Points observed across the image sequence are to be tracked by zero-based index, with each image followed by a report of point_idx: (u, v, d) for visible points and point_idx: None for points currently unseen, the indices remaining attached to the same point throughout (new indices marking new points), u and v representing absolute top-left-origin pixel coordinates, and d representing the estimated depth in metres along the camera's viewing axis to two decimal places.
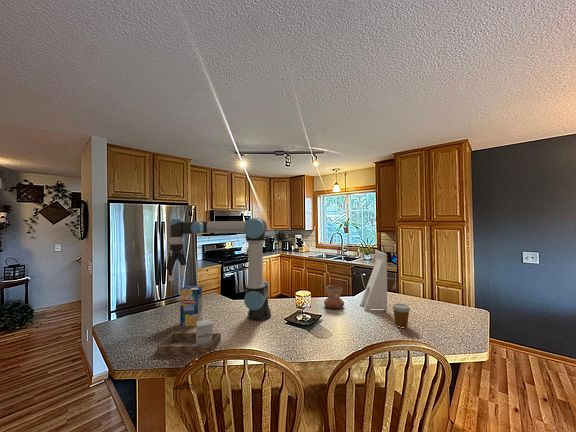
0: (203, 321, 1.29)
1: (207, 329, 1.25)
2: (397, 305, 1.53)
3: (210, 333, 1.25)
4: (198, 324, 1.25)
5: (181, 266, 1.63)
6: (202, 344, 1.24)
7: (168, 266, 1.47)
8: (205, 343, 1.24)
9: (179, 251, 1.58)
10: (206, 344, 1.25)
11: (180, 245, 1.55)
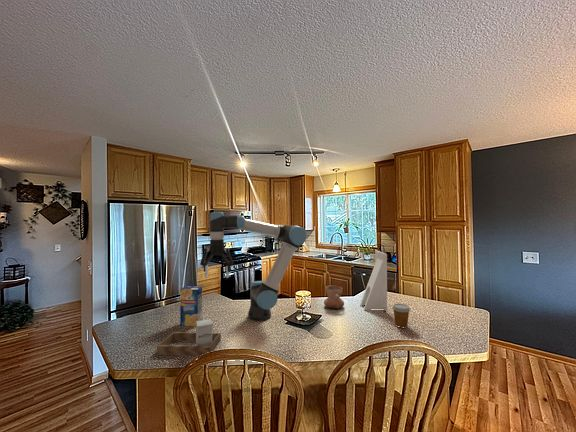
0: (203, 321, 1.29)
1: (207, 329, 1.25)
2: (397, 305, 1.53)
3: (210, 333, 1.25)
4: (198, 324, 1.25)
5: None
6: (202, 344, 1.24)
7: None
8: (205, 343, 1.24)
9: (218, 248, 1.44)
10: (206, 344, 1.25)
11: (212, 241, 1.42)
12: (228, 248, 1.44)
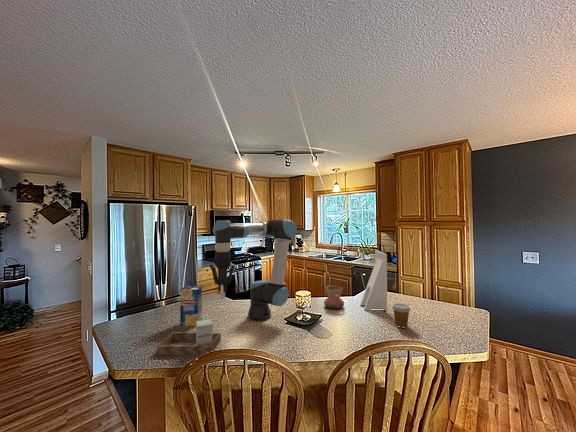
0: (203, 321, 1.29)
1: (207, 329, 1.25)
2: (397, 305, 1.53)
3: (210, 333, 1.25)
4: (198, 324, 1.25)
5: None
6: (202, 344, 1.24)
7: None
8: (205, 343, 1.24)
9: (224, 261, 1.27)
10: (206, 344, 1.25)
11: (217, 253, 1.25)
12: (235, 266, 1.27)
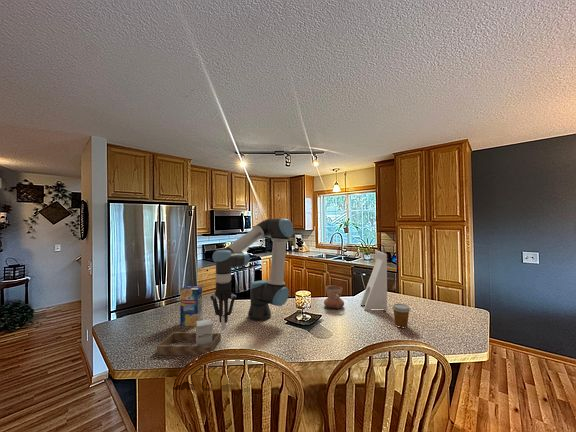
0: (203, 321, 1.29)
1: (207, 329, 1.25)
2: (397, 305, 1.53)
3: (210, 333, 1.25)
4: (198, 324, 1.25)
5: None
6: (202, 344, 1.24)
7: None
8: (205, 343, 1.24)
9: (225, 292, 1.26)
10: (206, 344, 1.24)
11: (218, 285, 1.24)
12: (235, 296, 1.27)
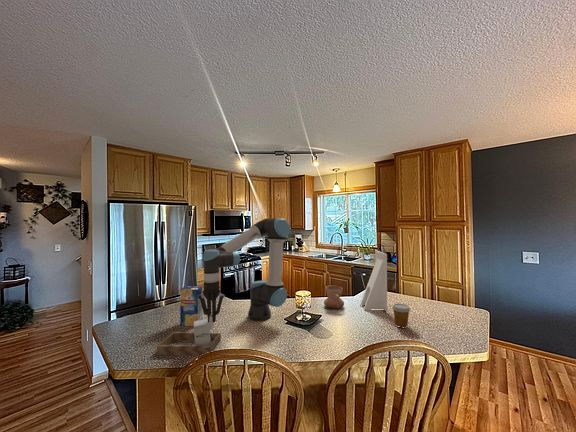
0: (200, 321, 1.28)
1: (204, 328, 1.24)
2: (397, 305, 1.53)
3: (208, 332, 1.25)
4: (195, 324, 1.25)
5: None
6: (200, 344, 1.23)
7: None
8: (203, 342, 1.24)
9: (213, 291, 1.26)
10: (204, 343, 1.24)
11: (205, 284, 1.24)
12: (223, 296, 1.27)
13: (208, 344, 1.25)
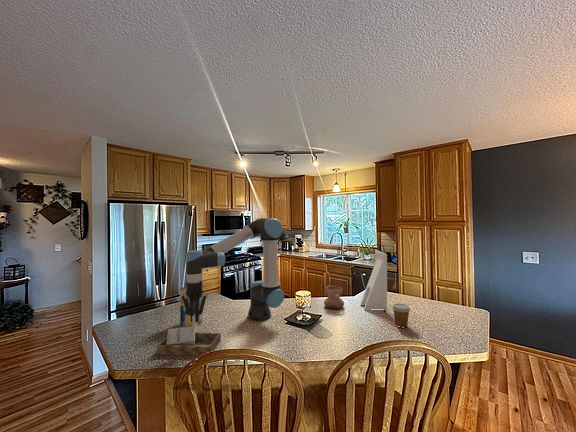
0: None
1: (172, 333, 1.25)
2: (397, 305, 1.53)
3: (177, 329, 1.26)
4: (167, 344, 1.23)
5: None
6: (187, 336, 1.26)
7: None
8: (186, 333, 1.26)
9: (196, 292, 1.27)
10: (188, 332, 1.27)
11: (188, 284, 1.25)
12: (206, 296, 1.27)
13: (189, 328, 1.28)
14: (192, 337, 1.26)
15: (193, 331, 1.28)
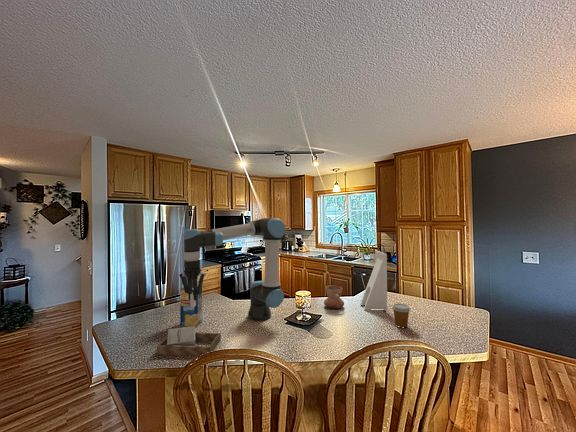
0: None
1: (172, 333, 1.25)
2: (397, 305, 1.53)
3: (177, 329, 1.26)
4: (167, 344, 1.23)
5: None
6: (187, 336, 1.26)
7: None
8: (187, 333, 1.26)
9: (193, 270, 1.27)
10: (188, 332, 1.27)
11: (186, 262, 1.25)
12: (204, 274, 1.28)
13: (190, 328, 1.28)
14: (192, 337, 1.26)
15: (193, 331, 1.28)
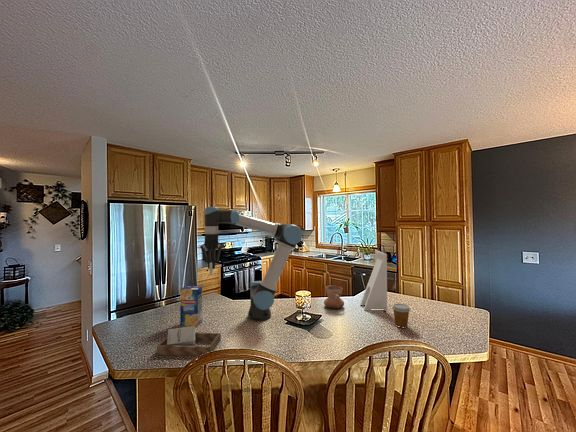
0: None
1: (172, 333, 1.25)
2: (397, 305, 1.53)
3: (177, 329, 1.26)
4: (167, 344, 1.23)
5: None
6: (187, 336, 1.26)
7: None
8: (187, 333, 1.26)
9: (212, 242, 1.46)
10: (188, 332, 1.27)
11: (206, 235, 1.44)
12: (222, 246, 1.47)
13: (190, 328, 1.28)
14: (192, 337, 1.26)
15: (193, 331, 1.28)
